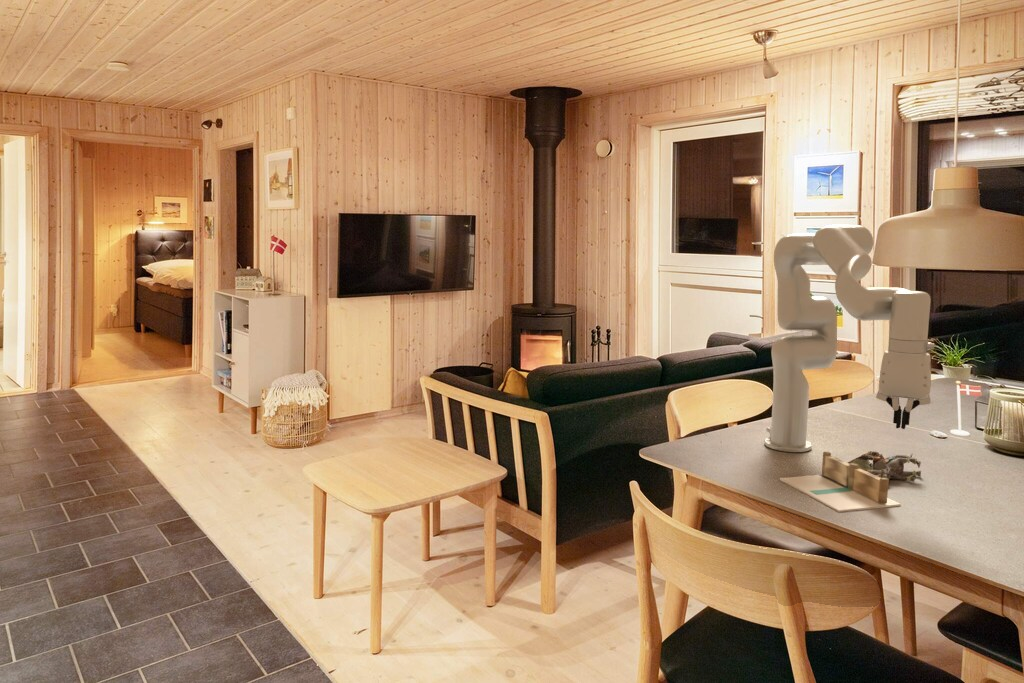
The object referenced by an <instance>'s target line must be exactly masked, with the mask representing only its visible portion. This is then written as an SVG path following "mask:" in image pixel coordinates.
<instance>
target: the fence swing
mask: <svg viewBox="0 0 1024 683" xmlns="http://www.w3.org/2000/svg"><path fill="white" fill-rule="evenodd" d="M889 481H890V479H887V478H880V477H878V476H876V475H875V474H874V475H873V473H869V472H867V471H864V470H862V469H855V472H854V486H853V490H855V491H857V492H859V493H861V494H863V495H865V496H867V497H869V498H871V499H873V500H875V501H877V502H879V503H882V504H886V503H887V498H888V493H889V492H888V491H889Z"/></svg>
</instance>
